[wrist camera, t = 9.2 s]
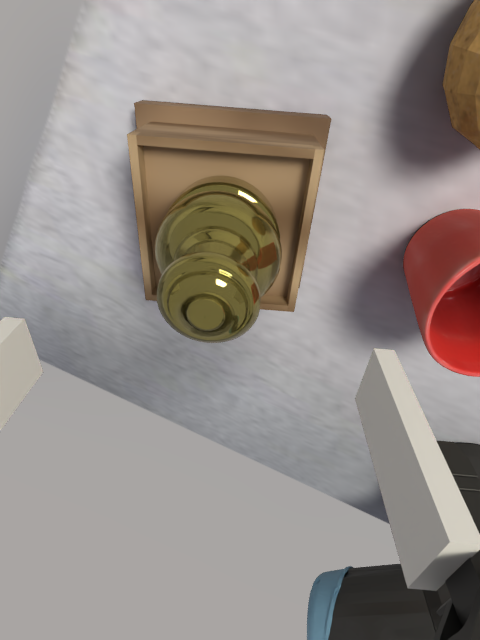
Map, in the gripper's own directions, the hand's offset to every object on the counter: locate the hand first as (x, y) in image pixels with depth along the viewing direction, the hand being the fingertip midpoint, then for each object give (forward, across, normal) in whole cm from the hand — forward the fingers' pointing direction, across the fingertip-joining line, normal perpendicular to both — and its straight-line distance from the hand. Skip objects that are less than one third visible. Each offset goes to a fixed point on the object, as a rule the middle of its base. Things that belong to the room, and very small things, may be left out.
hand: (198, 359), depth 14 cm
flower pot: (+19, -19, +2) cm, 27 cm away
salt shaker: (+13, 0, 0) cm, 13 cm away
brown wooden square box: (+19, 0, 0) cm, 19 cm away
